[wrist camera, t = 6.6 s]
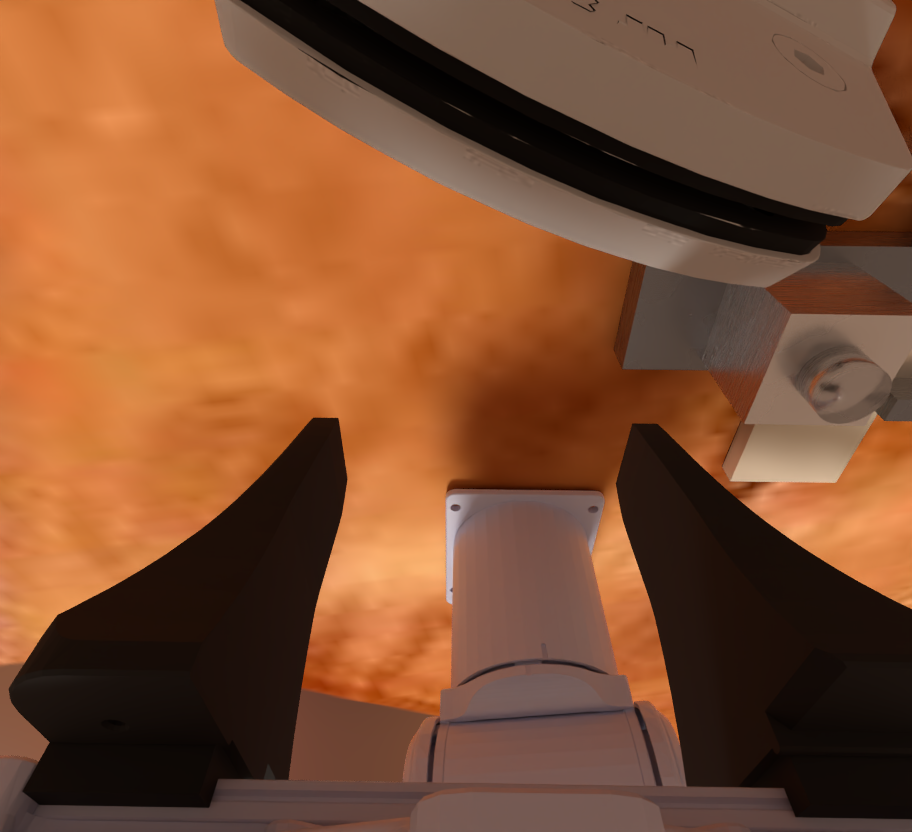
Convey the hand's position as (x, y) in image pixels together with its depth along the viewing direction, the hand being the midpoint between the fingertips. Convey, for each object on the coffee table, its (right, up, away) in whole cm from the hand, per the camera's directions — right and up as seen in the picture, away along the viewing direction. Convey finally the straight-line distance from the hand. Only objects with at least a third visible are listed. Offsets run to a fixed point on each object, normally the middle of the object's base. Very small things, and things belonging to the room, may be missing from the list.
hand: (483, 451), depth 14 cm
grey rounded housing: (+2, +13, +3) cm, 13 cm away
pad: (+15, 0, +11) cm, 19 cm away
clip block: (+11, +5, +6) cm, 13 cm away
